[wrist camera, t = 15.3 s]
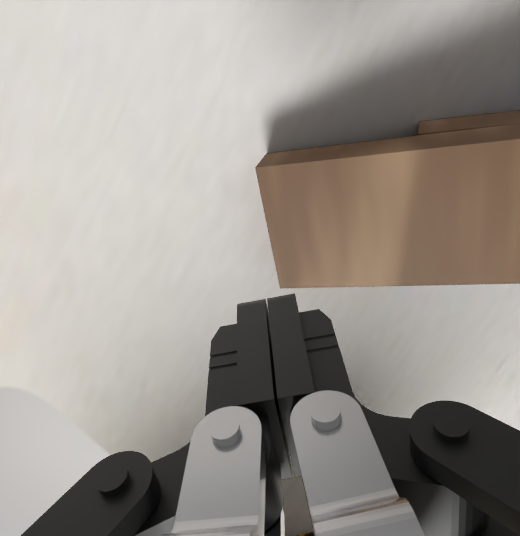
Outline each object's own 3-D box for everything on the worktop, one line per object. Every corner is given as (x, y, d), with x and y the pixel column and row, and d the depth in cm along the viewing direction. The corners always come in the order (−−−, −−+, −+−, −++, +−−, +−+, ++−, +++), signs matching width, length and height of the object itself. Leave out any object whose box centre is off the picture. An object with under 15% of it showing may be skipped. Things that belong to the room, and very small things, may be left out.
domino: (266, 153, 17) (577, 116, 14) (288, 267, 20) (558, 258, 17) (255, 167, 16) (594, 130, 13) (280, 288, 19) (571, 282, 15)
